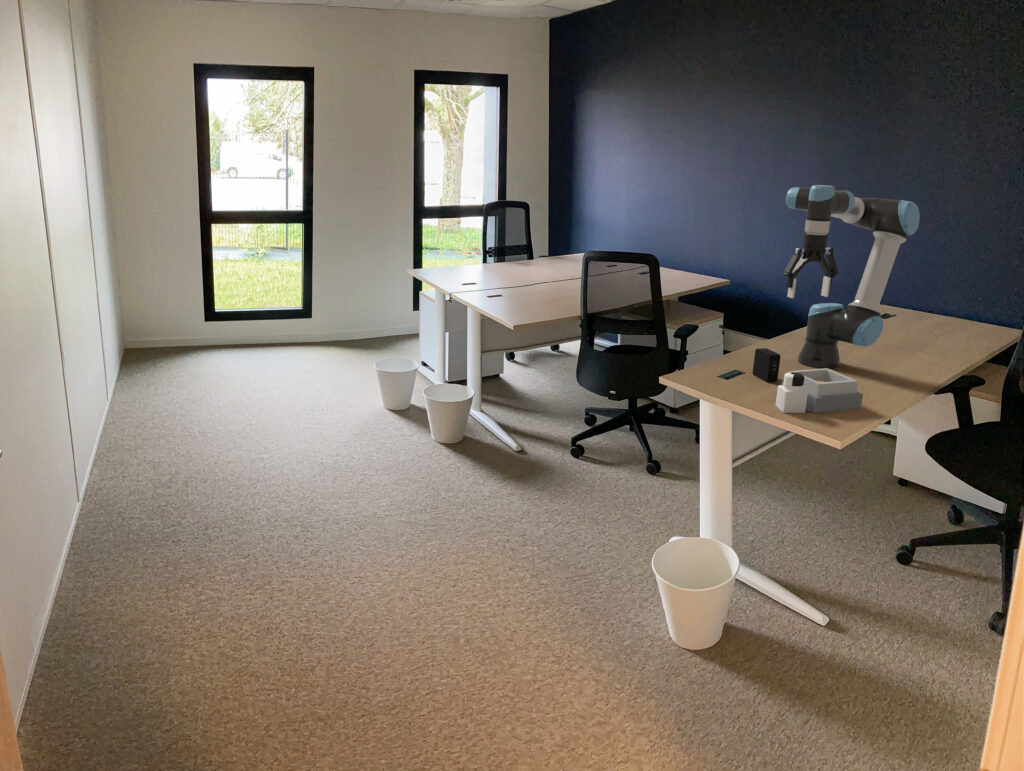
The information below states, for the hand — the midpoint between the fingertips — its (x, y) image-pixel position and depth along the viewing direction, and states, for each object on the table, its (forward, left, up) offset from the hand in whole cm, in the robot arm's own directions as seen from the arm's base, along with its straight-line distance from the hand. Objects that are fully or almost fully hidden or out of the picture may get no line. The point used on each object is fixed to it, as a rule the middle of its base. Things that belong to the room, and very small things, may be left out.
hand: (807, 296), depth 282 cm
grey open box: (+3, +17, -32) cm, 36 cm away
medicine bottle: (+18, +21, -32) cm, 42 cm away
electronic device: (+5, -11, -32) cm, 34 cm away
